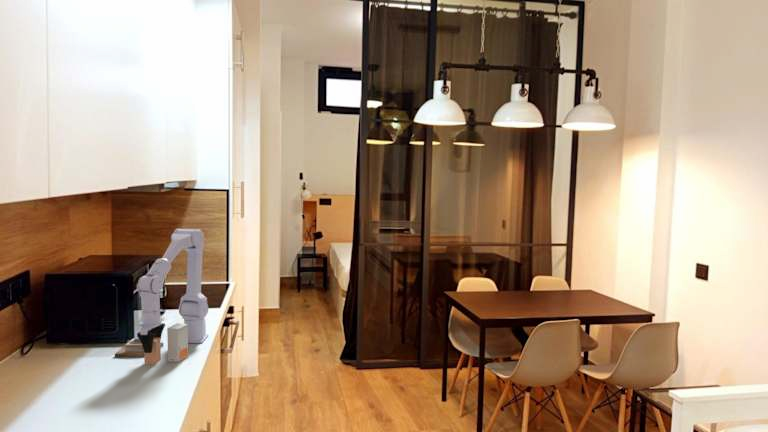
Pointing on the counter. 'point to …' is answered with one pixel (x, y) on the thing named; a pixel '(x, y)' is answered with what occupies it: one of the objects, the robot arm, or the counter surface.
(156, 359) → the peg
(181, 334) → the skincare box
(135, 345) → the socket board
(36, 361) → the counter surface
